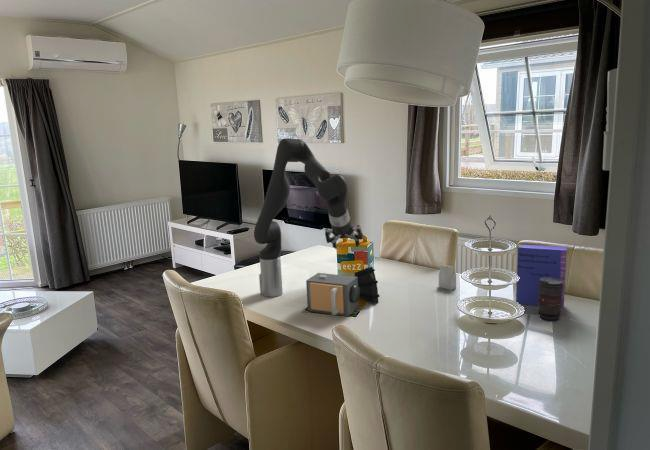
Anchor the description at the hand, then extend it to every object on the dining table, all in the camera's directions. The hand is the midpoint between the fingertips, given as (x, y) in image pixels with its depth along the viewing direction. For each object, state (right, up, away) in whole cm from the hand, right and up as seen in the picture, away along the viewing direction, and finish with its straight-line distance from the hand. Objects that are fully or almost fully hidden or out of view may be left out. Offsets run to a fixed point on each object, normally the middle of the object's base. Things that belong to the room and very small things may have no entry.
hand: (346, 246), depth 204 cm
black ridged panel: (+9, -24, +15) cm, 30 cm away
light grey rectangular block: (+47, -20, +26) cm, 57 cm away
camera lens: (+75, -27, -14) cm, 81 cm away
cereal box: (+78, -24, 0) cm, 81 cm away
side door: (-9, -26, -2) cm, 28 cm away
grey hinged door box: (-5, -26, +6) cm, 27 cm away
